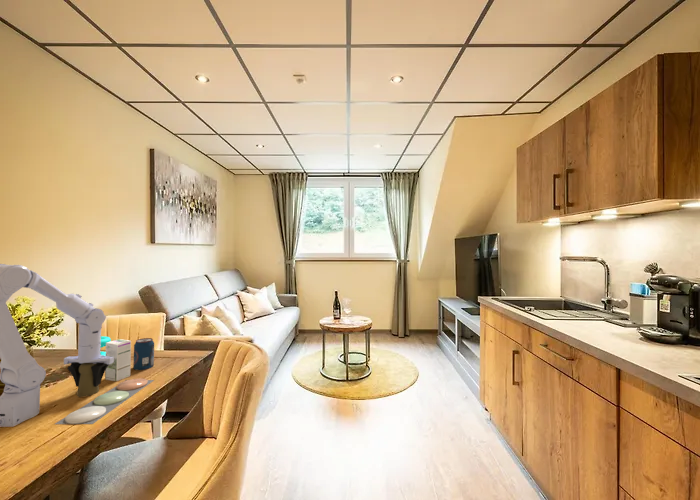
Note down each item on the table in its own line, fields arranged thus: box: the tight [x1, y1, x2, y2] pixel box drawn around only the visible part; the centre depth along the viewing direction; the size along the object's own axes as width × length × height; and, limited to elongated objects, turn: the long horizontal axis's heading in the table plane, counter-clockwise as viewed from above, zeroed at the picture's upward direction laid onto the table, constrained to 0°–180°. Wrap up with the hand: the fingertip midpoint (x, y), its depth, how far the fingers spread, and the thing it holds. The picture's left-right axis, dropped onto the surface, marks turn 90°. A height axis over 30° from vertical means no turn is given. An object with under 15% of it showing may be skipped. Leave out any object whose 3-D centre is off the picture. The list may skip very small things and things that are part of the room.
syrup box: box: [104, 338, 132, 382], centre depth 118 cm, size 6×6×14 cm
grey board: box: [54, 379, 155, 425], centre depth 101 cm, size 30×10×1 cm, turn 3°
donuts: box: [100, 335, 112, 356], centre depth 137 cm, size 10×10×10 cm
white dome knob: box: [64, 406, 106, 425], centre depth 91 cm, size 9×9×1 cm
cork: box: [76, 363, 100, 398], centre depth 105 cm, size 6×6×11 cm
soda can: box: [132, 337, 155, 371], centre depth 130 cm, size 7×7×12 cm
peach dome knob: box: [116, 378, 149, 391], centre depth 112 cm, size 9×9×1 cm
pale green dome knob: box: [93, 391, 129, 406], centre depth 101 cm, size 9×9×1 cm
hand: (88, 385), depth 105 cm, fingers closed on cork, 5 cm apart
